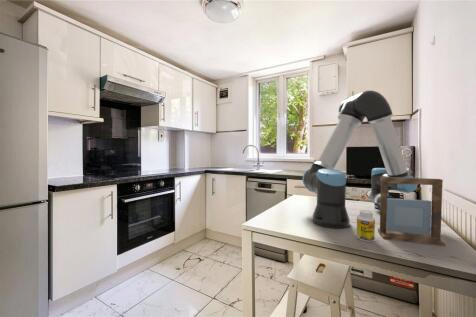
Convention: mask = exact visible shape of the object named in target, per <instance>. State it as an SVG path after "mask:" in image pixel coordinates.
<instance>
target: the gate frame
mask: <svg viewBox="0 0 476 317" xmlns="http://www.w3.org/2000/svg"><path fill="white" fill-rule="evenodd" d="M380 182H381V199H380V211H379V228H377V231H378V233H379V235H380V237H381V238H382V239H385V240H393V241H399V242H400V241H401V242H408V243H418V244H425V245H433V246H440V247H446V243H445V242H444V241H443V240H442V239H441V238H442V235H441V233H442V211H443V208H442V206H443V184H444V183H443V179H441V178H425V177H423V178H421V177H417V178H416V177H414V178H398V177H380ZM387 183H396V184H418V185H423V186H424V185H425V186H431V231H430V235H427V234H416V233H406V232H396V231H387V229H386V221H387Z"/></svg>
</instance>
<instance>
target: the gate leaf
mask: <svg viewBox="0 0 476 317" xmlns="http://www.w3.org/2000/svg"><path fill="white" fill-rule="evenodd" d="M393 198H394V197H392V198H387V217H386V229H387V231H396V232H406V233H416V234H427V235H430V234H431V208H432V200H427V199H426V200H425V199H407V198H394V199H393Z"/></svg>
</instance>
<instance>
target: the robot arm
mask: <svg viewBox="0 0 476 317" xmlns="http://www.w3.org/2000/svg"><path fill="white" fill-rule="evenodd" d="M393 115H394V114H393V111H392V108H391V105H390V103H389V102H388V100H387V99H386V98H385V96H384V95H382V94H381V93H380V92H378V91H376V90H375V91H374V90H365V91H362V92H360V93H357V94H355V95H352V96H350V97H347V98H346V99H344V100H343V101H342V102H341V103H340V104H339V107H338V116H337V119H338V122H337V124H336V126H335V127H334V130H333V131H332V132H331V135H330V137H329V139H328V141H327V143H326V145H325V147H324V149H323V151H322V152H321V154H320V156H319V157H318V160H317V161H315V162H313V163H312V165H311V167H310V168H309V169H307V170H306V171H304V173H303V175H302V179H301V180H302V184H303V186H304V187H305V189H307V190H308V191H309V192H312V193H314V194H316V205H315V208H314V211H313V214H312V222H313V223H314V224H315V225H318V226H320V227H325V228H328V229H329V228H330V229H344V228H348V227H350V220H351V219H350V217H349V214H348V211H347V207H346V194H347V193H346V188H347V187H346V186H347V177H346V174H345V172H344V171H342V170H340V169H339V170H338V169H335V168H336V166H337V164H338V162H339V160H340V159H341V156H342V154H343V152H344V151H345V149H346V147H347V145H348V143H349V142H350V139H351V138H352V136H353V133H354V132H355V130H356V128H357V127H360V126H361V125H362V123H363V122H364V120H365V118H366V121H367V122H368V123H369V124H370V125H371V128H372V132H373V133H374V136H375V140H376V143H377V146H378V149H379V152H380V155H381V159H382V161H383V164H384V167H385V168H384V167H374V168H372V169H371V177H370V178H371V188H370V189H371V191H370V193H369V199H370V200H371V202H372V203H373V204H374V209H375V210H378V212H380V199H381V182H380V177H398V178H415V177H414V176H412V175H409V171H408V170H407V169H408V168H407V166H406V162H405V159H404V156H403V153H402V149H401V147H400V143H399V140H398V137H397V133H396V130H395V127H394V124H393V120H392V116H393ZM418 185H419V184H396V183H387V198H393V199H395V198H394V197H392V196H391V195H390V194H389V193H390V190H393V191H397V192H400V193H406V194H407V193H408V194H410V193H413V192H414V191H416V189H417V188H418Z"/></svg>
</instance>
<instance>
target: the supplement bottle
mask: <svg viewBox="0 0 476 317" xmlns="http://www.w3.org/2000/svg"><path fill="white" fill-rule="evenodd" d="M373 216H374V214H373V211H371V210H364V209H361V210H359V215H357V216H356V238H357V239H358V240H359V241H362V242H365V243H372V242H374V241H375V233H376V231H375V230H376V228H375V227H376V219H375V218H374V217H373Z"/></svg>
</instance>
